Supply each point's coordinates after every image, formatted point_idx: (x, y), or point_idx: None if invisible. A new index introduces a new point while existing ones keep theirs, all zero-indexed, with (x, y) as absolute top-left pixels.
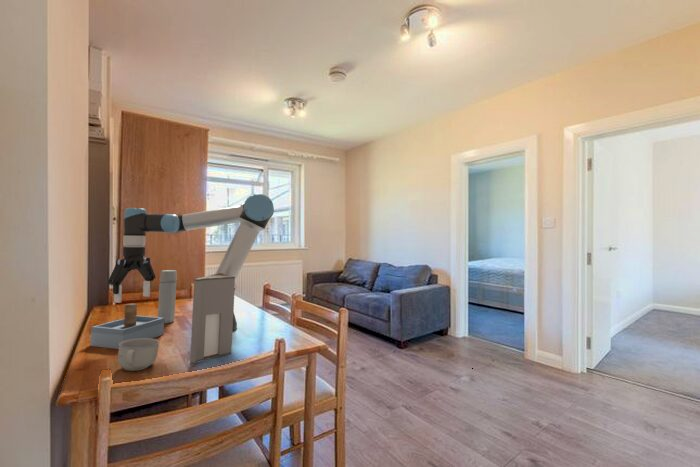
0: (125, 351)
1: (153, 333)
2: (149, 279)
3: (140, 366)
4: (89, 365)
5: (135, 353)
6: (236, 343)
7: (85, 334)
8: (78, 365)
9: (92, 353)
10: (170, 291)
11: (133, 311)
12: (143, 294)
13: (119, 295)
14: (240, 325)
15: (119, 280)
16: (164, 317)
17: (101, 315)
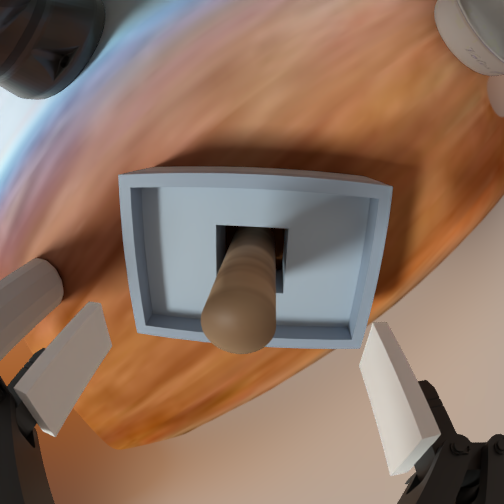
0: None
1: (204, 167)
2: (11, 406)
3: (483, 17)
4: (482, 166)
5: None
6: None
7: (243, 396)
8: (484, 195)
9: (411, 239)
10: None
11: (254, 273)
12: (104, 352)
13: (404, 364)
14: None
15: (460, 481)
16: (46, 281)
17: (109, 443)
